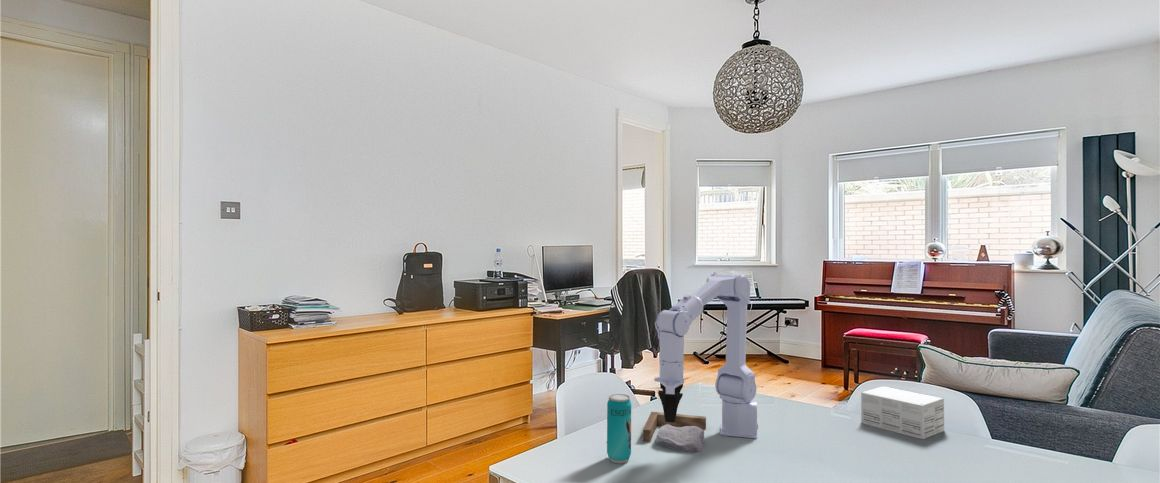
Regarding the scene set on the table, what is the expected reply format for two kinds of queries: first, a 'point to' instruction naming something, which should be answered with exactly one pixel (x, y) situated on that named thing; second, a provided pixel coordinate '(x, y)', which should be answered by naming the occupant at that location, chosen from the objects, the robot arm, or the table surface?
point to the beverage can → (619, 428)
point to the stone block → (681, 438)
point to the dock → (671, 423)
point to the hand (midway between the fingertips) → (670, 417)
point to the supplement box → (903, 412)
